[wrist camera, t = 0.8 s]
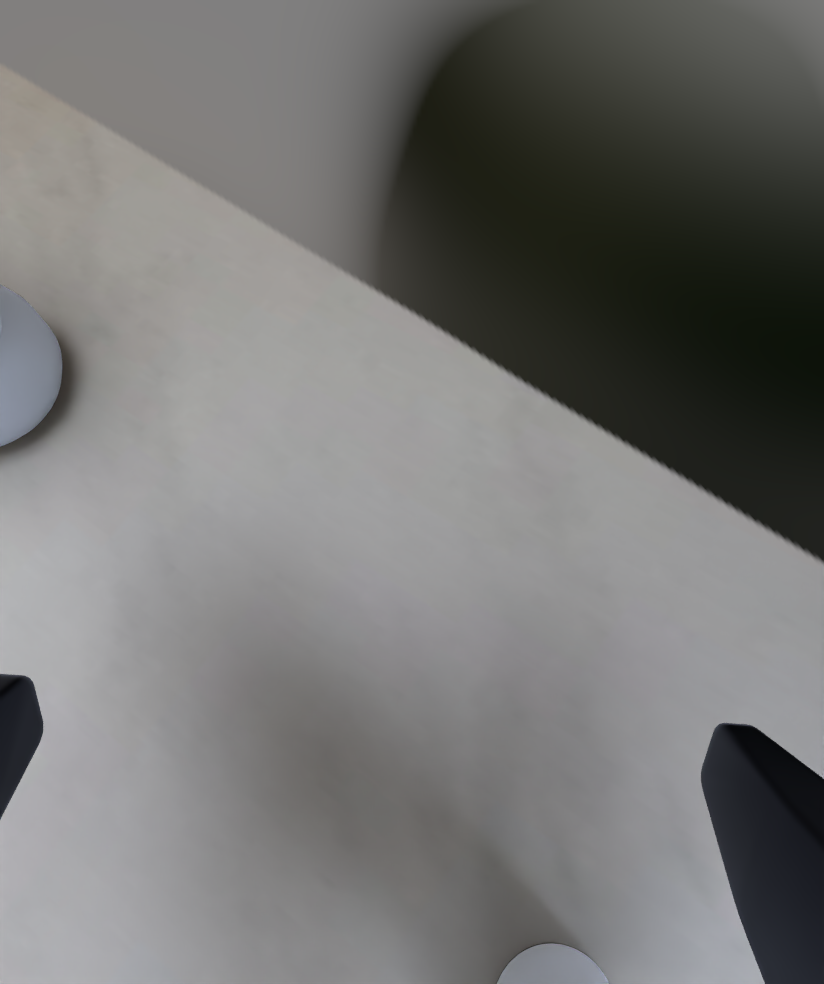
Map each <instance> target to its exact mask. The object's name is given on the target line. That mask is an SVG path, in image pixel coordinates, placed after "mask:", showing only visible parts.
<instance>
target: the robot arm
mask: <svg viewBox="0 0 824 984" xmlns="http://www.w3.org/2000/svg"><path fill="white" fill-rule="evenodd" d="M42 734H43V719H42V715H41V711H40V707H39V703H38V699H37V695H36V691H35V687H34V684H33V682H32V680H31V679H30V678H29V677H26V676H22V675H7V674H0V819H1V817H2V815H3V813H4V811H5V809H6V807H7V805H8V803H9V802H10V800H11V798H12V796H13V794H14V792H15V790H16V788H17V786H18V784H19V782H20V780H21V778H22V776H23V774H24V772H25V770H26V768H27V766H28V764H29V763H30V761H31V759H32V757H33V755H34V753H35V751H36V749H37V747H38V745H39V743H40V740H41V737H42ZM701 783H702V788H703V792H704V796H705V799H706V803H707V806H708V810H709V813H710V817H711V820H712V824H713V827H714V831H715V835H716V838H717V842H718V845H719V849H720V852H721V856H722V859H723V863H724V866H725V870H726V873H727V877H728V880H729V884H730V887H731V891H732V894H733V897H734V901H735V904H736V907H737V910H738V914H739V916H740V919H741V922H742V925H743V927H744V930H745V933H746V936H747V938H748V941H749V943H750V946H751V948H752V951H753V954H754V956H755V959H756V961H757V964H758V966H759V969H760V972H761V974H762V977H763V979H764V982H765V984H824V779H823V778H822V777H820V776H819V775H818V774H816V773H815V772H814V771H813V770H811V769H810V768H809V767H807V766H806V765H805V764H803V763H802V762H801V761H799V760H798V759H797V758H795V757H794V756H793V755H791V754H790V753H789V752H787V751H786V750H785V749H783V748H782V747H781V746H780V745H778V744H777V743H776V742H774V741H773V740H772V739H770V738H769V737H768V736H766V735H765V734H764V733H762V732H761V731H760V730H758V729H757V728H755V727H753V726H751V725H746V724H732V723H722V724H719V725H718V726H717V727H716V728H715V730H714V732H713V735H712V738H711V741H710V744H709V747H708V751H707V754H706V757H705V760H704V763H703V766H702V771H701Z"/></svg>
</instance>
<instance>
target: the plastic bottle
mask: <svg viewBox="0 0 824 984" xmlns="http://www.w3.org/2000/svg"><path fill="white" fill-rule="evenodd" d="M62 366H63V365H62V355H61V350H60V347H59V344H58V341H57V338H56V336H55V335H54V333H53V332H52V330H51V328H50V327H49V326H48V325H47V323H46V322H45V321H44V320H43V319H42V317H41V316H40V315H39V314H38V313H37V312H36V310H35V309H34V308H33V307H32V306H31V305H30V304H29V303H28V302H27V301H26V300H25V299H24V298H23V297H21V296H20V295H18V294H16V293H15V292H13V291H12V290H10V289H8V288H6V287H5V286H3V285H1V284H0V447H1V446H3V445H6V444H8V443H10V442H13V441H15V440H16V439H18V438H20V437H21V436H23V435H25V434H26V433H28V432H29V431H31V430H32V429H33V428H34V427H36V426H37V425H38V424H39V423H40V422H41V421H42V420H43V419H44V417H45V416H46V415H47V414H48V412H49V411H50V410H51V408H52V406H53V404H54V402H55V400H56V398H57V396H58V393H59V389H60V386H61V378H62Z"/></svg>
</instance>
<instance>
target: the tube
mask: <svg viewBox="0 0 824 984" xmlns="http://www.w3.org/2000/svg"><path fill="white" fill-rule="evenodd" d="M497 984H609V982H608V980H607V978H606V976H605V975H604V973H603V972H602V971H601V969H600V968H599V967H598V965H597V964H596V963H595V962H594V961H592V960H591V959H590V958H589V957H588V956H587V955H585V954H584V953H582V952H580V951H578V950H577V949H575V948H572V947H569V946H566V945H563V944H553V943H549V944H541V945H536V946H534V947H531V948H528V949H526V950H525V951H523V952H521V953H520V954H518V955H517V956H516V957H515V958H514V959H513V960H512V961H510V962H509V964H508V965H507V966H506V968H505V969H504V971H503V972H502V973H501V975H500V978H499V980H498V982H497Z"/></svg>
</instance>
